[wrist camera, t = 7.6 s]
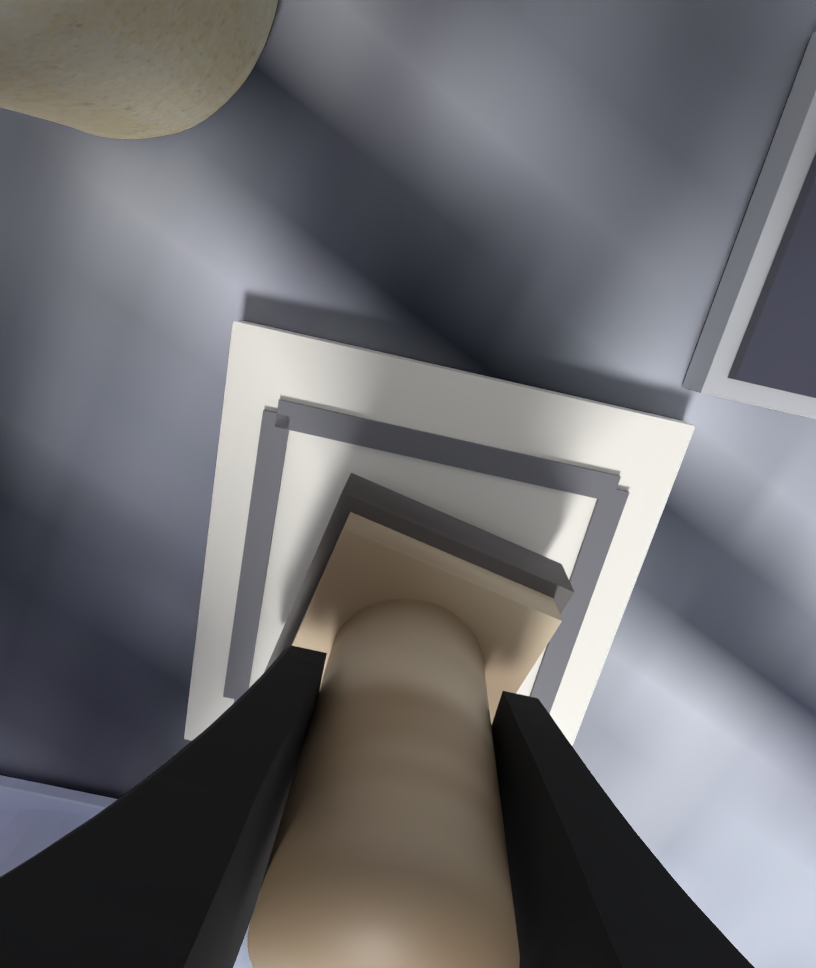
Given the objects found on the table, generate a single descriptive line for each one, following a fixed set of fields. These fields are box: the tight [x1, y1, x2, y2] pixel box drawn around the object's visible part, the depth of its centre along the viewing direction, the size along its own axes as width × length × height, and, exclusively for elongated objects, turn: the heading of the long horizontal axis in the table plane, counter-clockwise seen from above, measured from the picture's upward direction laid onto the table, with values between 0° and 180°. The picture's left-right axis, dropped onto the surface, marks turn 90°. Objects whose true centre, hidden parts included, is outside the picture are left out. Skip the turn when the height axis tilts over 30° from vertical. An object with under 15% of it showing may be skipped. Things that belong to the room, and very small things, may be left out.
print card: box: [184, 320, 695, 746], centre depth 14 cm, size 11×10×1 cm
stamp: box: [248, 473, 574, 968], centre depth 9 cm, size 5×5×7 cm
